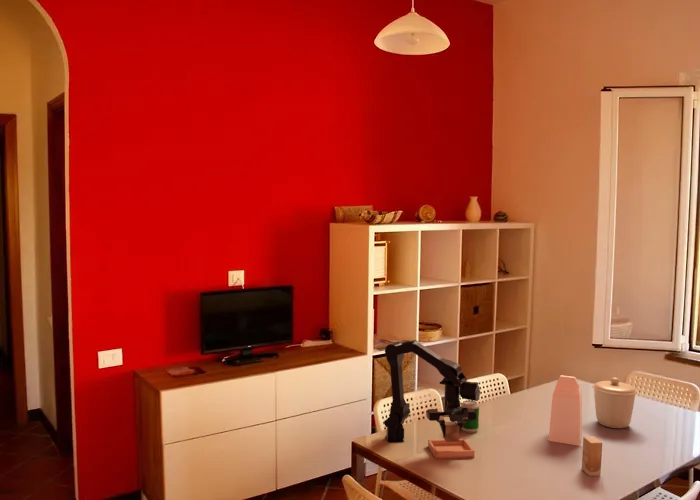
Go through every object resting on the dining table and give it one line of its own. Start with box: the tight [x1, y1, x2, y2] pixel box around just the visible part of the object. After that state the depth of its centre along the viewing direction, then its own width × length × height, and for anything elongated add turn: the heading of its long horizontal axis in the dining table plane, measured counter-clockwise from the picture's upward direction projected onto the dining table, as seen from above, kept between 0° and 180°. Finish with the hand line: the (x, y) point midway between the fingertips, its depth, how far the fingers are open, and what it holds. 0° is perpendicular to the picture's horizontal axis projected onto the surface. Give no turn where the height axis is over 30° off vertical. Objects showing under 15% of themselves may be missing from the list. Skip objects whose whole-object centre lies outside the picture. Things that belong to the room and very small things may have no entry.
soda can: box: [460, 399, 480, 434], centre depth 254 cm, size 8×8×12 cm
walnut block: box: [442, 421, 460, 442], centre depth 230 cm, size 5×5×6 cm
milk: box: [548, 375, 583, 447], centre depth 245 cm, size 12×12×26 cm
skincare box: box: [581, 435, 603, 477], centre depth 213 cm, size 6×4×12 cm
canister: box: [591, 376, 638, 429], centre depth 263 cm, size 18×18×21 cm
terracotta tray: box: [427, 438, 476, 460], centre depth 231 cm, size 15×12×2 cm
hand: (450, 436), depth 230 cm, fingers closed on walnut block, 5 cm apart
